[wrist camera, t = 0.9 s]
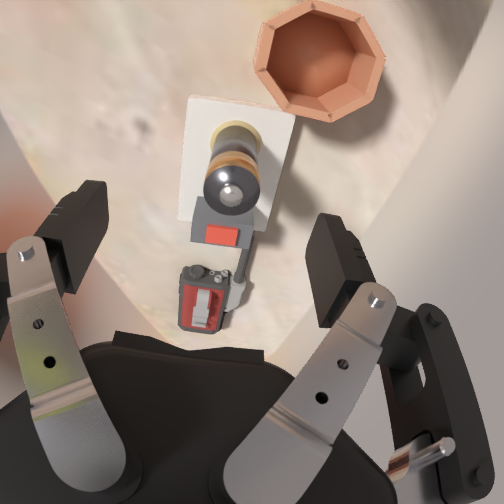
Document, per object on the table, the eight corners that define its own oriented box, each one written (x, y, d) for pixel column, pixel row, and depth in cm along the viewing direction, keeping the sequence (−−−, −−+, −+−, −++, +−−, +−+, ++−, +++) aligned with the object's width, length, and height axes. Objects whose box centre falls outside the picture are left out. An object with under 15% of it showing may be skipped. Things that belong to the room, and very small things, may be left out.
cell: (217, 121, 27) (204, 166, 20) (260, 128, 28) (266, 175, 21) (211, 160, 30) (198, 216, 23) (252, 166, 31) (254, 224, 23)
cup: (267, -4, 21) (272, -10, 16) (368, 24, 22) (395, 27, 18) (247, 89, 27) (247, 105, 23) (343, 111, 28) (362, 131, 24)
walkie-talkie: (231, 325, 51) (258, 229, 39) (230, 348, 48) (259, 253, 35) (178, 317, 50) (186, 218, 37) (174, 340, 47) (180, 241, 34)
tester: (191, 94, 27) (179, 110, 23) (294, 110, 28) (303, 130, 24) (179, 212, 36) (170, 245, 32) (264, 224, 37) (266, 258, 33)
